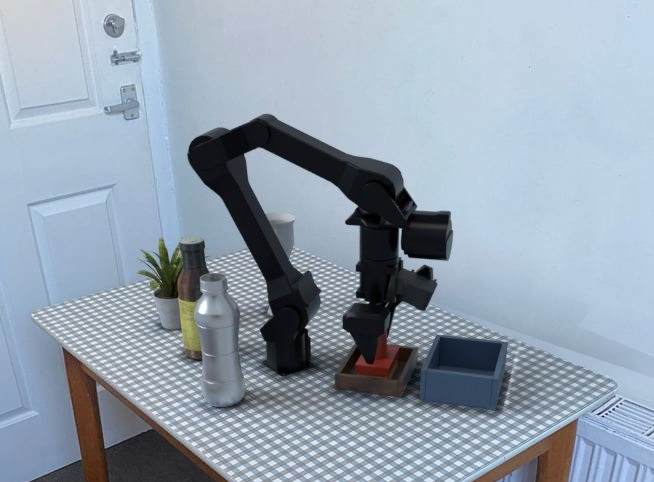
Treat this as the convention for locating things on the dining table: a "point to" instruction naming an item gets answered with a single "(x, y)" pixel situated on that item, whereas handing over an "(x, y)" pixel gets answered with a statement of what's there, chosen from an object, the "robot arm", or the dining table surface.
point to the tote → (463, 372)
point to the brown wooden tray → (379, 386)
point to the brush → (380, 361)
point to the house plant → (166, 285)
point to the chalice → (283, 232)
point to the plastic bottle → (219, 342)
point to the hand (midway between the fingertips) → (377, 350)
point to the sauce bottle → (191, 292)
